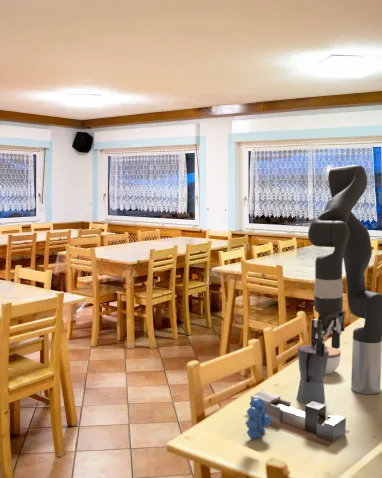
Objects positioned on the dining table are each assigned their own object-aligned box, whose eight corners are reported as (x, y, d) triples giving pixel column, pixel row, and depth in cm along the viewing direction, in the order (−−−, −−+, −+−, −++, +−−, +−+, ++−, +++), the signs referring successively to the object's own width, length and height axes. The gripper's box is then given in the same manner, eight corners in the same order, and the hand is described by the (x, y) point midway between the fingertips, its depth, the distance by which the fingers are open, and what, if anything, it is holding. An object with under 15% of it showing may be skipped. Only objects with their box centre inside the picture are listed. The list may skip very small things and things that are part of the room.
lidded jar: (343, 369, 202) (344, 344, 201) (334, 378, 193) (335, 352, 192) (315, 364, 208) (316, 340, 207) (305, 372, 199) (306, 347, 198)
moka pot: (329, 397, 176) (330, 336, 174) (324, 416, 161) (326, 350, 159) (299, 393, 179) (300, 333, 177) (292, 411, 165) (293, 347, 162)
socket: (329, 429, 150) (329, 412, 149) (345, 434, 147) (345, 417, 146) (316, 437, 145) (316, 420, 144) (332, 443, 142) (333, 425, 141)
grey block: (279, 414, 159) (280, 391, 158) (336, 433, 147) (337, 408, 146) (271, 418, 156) (272, 394, 155) (329, 439, 144) (330, 413, 143)
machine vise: (267, 408, 167) (268, 387, 166) (349, 436, 149) (350, 413, 148) (243, 421, 158) (244, 398, 157) (327, 452, 140) (328, 427, 139)
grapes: (265, 453, 139) (266, 408, 138) (240, 448, 142) (241, 403, 141) (277, 434, 150) (278, 392, 149) (253, 429, 153) (254, 388, 151)
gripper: (328, 287, 156) (328, 343, 158) (302, 297, 145) (302, 355, 147) (353, 291, 151) (352, 348, 153) (328, 301, 140) (327, 361, 142)
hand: (328, 351), depth 150 cm, fingers open, 8 cm apart
